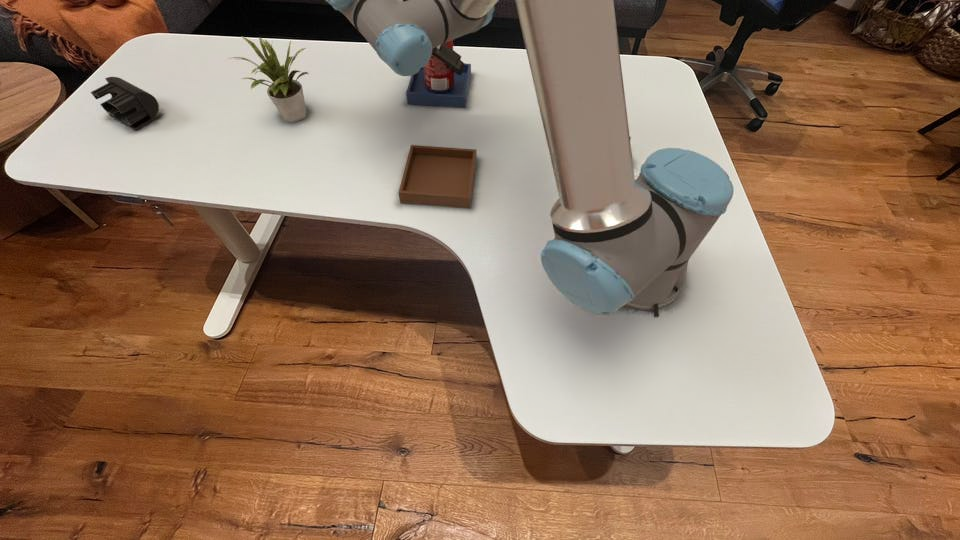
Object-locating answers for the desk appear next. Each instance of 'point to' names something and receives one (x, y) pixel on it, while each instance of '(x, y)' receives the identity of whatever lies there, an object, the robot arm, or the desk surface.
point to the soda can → (438, 74)
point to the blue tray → (449, 98)
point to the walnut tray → (438, 176)
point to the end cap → (127, 103)
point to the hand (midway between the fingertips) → (448, 63)
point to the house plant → (280, 82)
